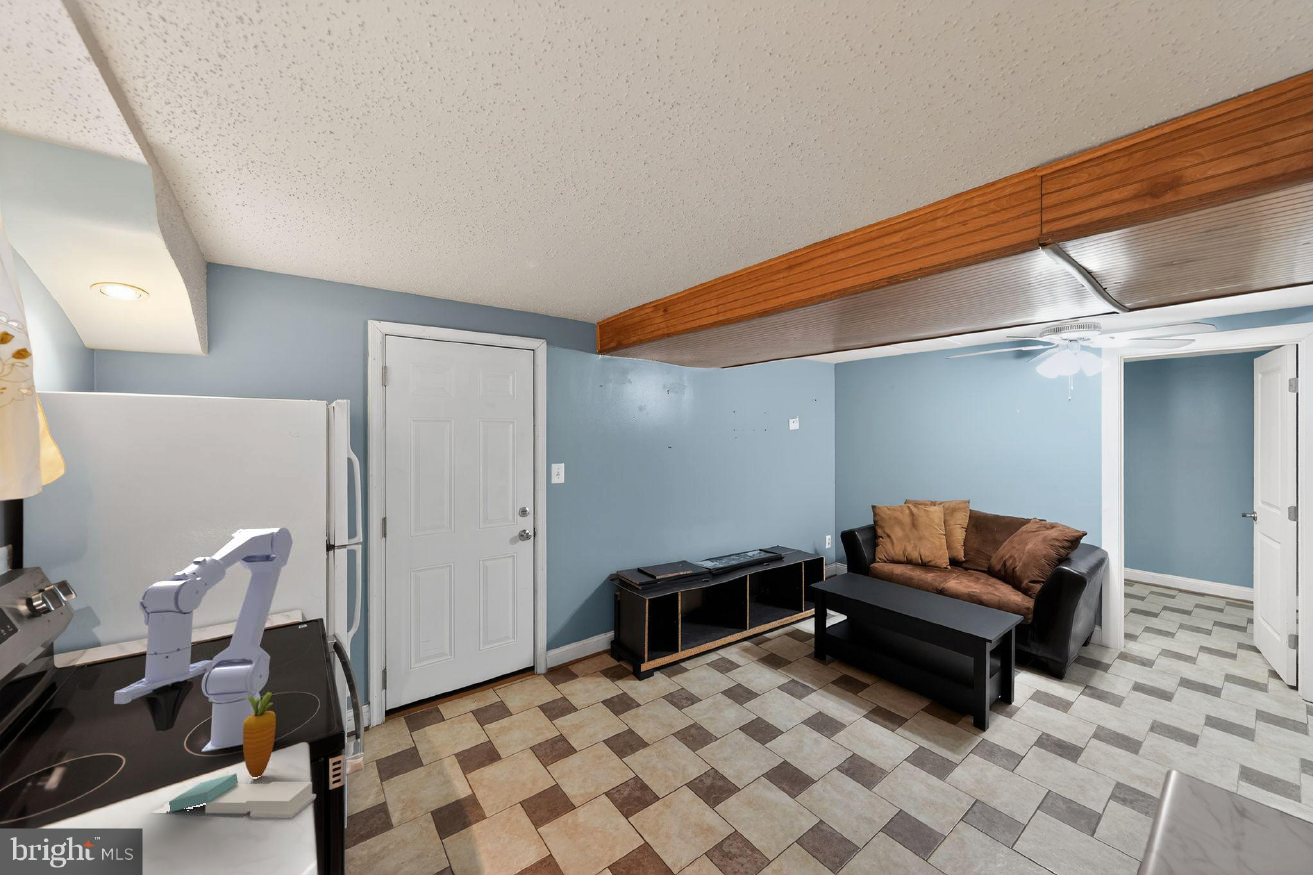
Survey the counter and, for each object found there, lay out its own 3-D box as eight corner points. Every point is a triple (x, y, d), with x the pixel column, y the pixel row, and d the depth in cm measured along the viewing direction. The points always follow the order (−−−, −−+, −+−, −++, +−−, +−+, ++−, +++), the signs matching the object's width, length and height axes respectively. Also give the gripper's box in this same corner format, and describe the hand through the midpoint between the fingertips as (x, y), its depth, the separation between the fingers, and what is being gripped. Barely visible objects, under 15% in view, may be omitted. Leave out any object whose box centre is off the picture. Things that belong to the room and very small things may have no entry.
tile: (168, 801, 80) (206, 791, 80) (200, 782, 85) (236, 773, 85) (170, 811, 80) (208, 802, 80) (202, 792, 85) (238, 782, 85)
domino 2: (246, 800, 79) (288, 801, 79) (272, 781, 84) (311, 781, 84) (245, 811, 79) (287, 811, 78) (271, 791, 84) (311, 792, 83)
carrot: (233, 783, 88) (237, 695, 90) (266, 769, 93) (269, 685, 94) (247, 791, 86) (251, 700, 87) (280, 776, 90) (283, 690, 92)
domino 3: (250, 812, 79) (291, 814, 78) (277, 792, 84) (316, 794, 83) (249, 823, 78) (291, 824, 78) (276, 802, 83) (315, 804, 83)
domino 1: (205, 802, 80) (247, 802, 79) (233, 783, 85) (273, 783, 84) (205, 812, 80) (246, 813, 79) (233, 793, 85) (272, 793, 84)
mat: (150, 815, 80) (150, 812, 80) (188, 792, 86) (188, 790, 86) (242, 819, 78) (242, 817, 78) (275, 796, 84) (275, 793, 84)
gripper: (143, 664, 81) (137, 751, 80) (228, 636, 96) (224, 710, 94) (105, 663, 82) (99, 750, 81) (195, 636, 96) (191, 709, 95)
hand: (164, 729), depth 88 cm, fingers closed
